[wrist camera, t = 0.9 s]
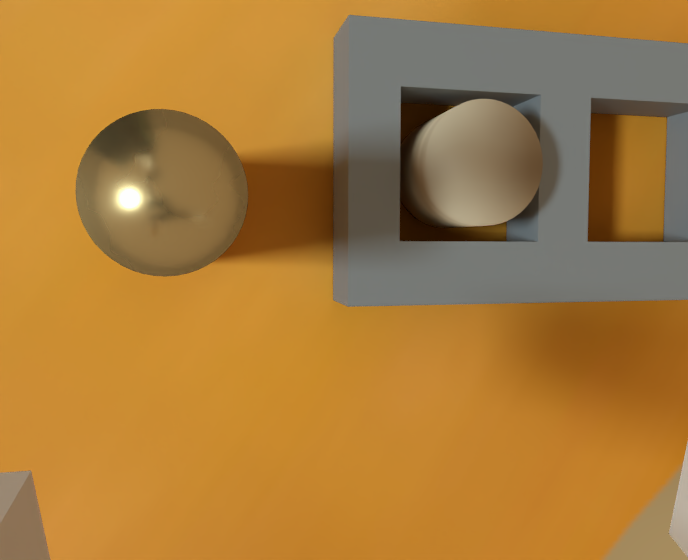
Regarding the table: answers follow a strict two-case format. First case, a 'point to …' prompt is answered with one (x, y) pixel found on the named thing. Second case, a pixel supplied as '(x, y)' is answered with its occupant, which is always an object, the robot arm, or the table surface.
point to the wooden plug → (470, 166)
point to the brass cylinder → (161, 192)
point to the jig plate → (557, 173)
